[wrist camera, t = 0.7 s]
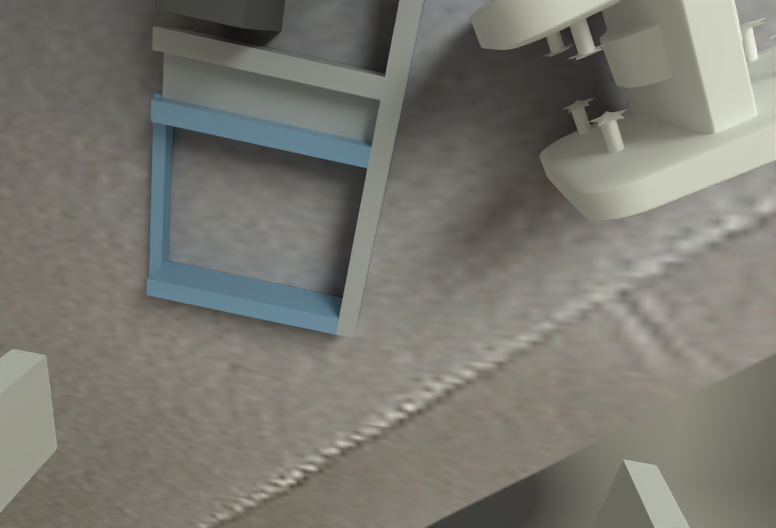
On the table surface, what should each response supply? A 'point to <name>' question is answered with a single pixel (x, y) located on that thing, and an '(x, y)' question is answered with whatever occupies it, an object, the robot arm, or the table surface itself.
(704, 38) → the cable organizer
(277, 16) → the yellow-capped grey block
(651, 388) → the table surface
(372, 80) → the grey frame
